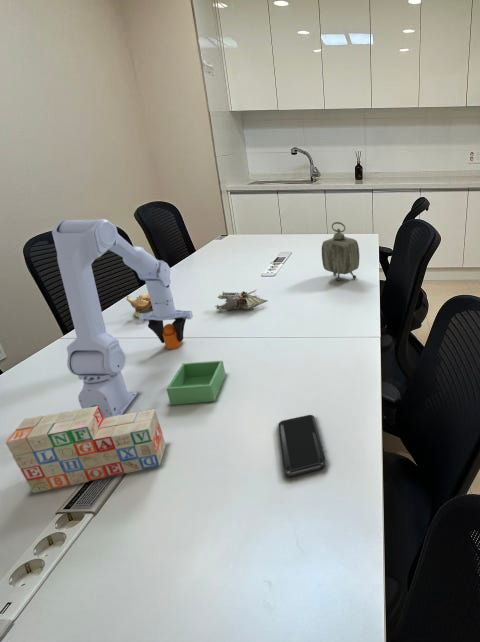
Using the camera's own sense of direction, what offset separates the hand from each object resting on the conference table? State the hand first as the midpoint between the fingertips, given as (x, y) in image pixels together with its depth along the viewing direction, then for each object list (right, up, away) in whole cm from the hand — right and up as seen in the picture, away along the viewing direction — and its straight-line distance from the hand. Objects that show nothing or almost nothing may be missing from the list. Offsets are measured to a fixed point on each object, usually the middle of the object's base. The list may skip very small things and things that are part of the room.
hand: (172, 340), depth 118 cm
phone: (+47, -18, -39) cm, 63 cm away
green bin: (+17, -10, -20) cm, 29 cm away
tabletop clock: (+48, +22, +52) cm, 74 cm away
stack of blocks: (+9, -21, -43) cm, 49 cm away
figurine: (+13, +10, +26) cm, 31 cm away
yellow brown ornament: (-22, +8, +23) cm, 33 cm away
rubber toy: (0, -1, +1) cm, 2 cm away
